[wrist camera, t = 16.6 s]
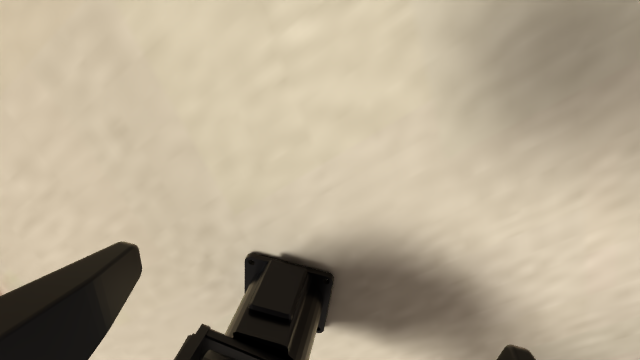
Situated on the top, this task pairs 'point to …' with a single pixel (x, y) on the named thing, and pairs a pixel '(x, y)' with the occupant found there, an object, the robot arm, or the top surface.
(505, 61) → the top surface
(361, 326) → the top surface
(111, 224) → the top surface
